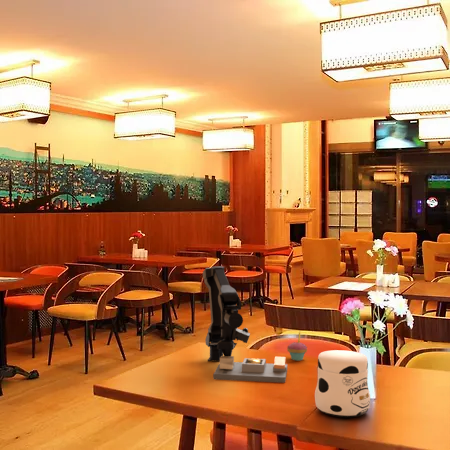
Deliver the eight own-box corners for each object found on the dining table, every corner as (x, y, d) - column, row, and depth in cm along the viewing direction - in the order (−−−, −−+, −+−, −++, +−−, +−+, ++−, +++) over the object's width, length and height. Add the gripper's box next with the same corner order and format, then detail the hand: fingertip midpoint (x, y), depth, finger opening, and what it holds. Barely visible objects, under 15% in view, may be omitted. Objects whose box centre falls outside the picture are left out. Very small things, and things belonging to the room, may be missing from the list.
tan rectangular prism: (221, 365, 231) (221, 355, 231) (233, 366, 230) (233, 356, 230) (219, 368, 227) (219, 358, 227) (232, 369, 226) (232, 359, 226)
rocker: (275, 359, 230) (275, 356, 230) (285, 360, 230) (285, 356, 230) (274, 368, 224) (274, 364, 223) (284, 368, 223) (284, 365, 223)
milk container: (372, 423, 177) (373, 364, 176) (314, 420, 180) (314, 361, 179) (367, 404, 194) (368, 350, 193) (314, 401, 197) (315, 348, 196)
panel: (220, 366, 239) (220, 354, 239) (287, 369, 235) (287, 356, 235) (213, 379, 222) (213, 366, 221) (285, 382, 218) (285, 369, 217)
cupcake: (293, 355, 257) (293, 328, 256) (310, 358, 252) (311, 330, 251) (283, 359, 250) (283, 331, 249) (301, 363, 245) (301, 334, 244)
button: (248, 365, 231) (248, 358, 231) (261, 366, 230) (261, 358, 230) (246, 369, 226) (246, 361, 226) (259, 369, 225) (259, 362, 225)
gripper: (246, 328, 221) (246, 369, 222) (251, 319, 240) (251, 357, 240) (216, 327, 223) (216, 368, 223) (224, 318, 241) (224, 356, 242)
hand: (228, 362), depth 232 cm, fingers closed
